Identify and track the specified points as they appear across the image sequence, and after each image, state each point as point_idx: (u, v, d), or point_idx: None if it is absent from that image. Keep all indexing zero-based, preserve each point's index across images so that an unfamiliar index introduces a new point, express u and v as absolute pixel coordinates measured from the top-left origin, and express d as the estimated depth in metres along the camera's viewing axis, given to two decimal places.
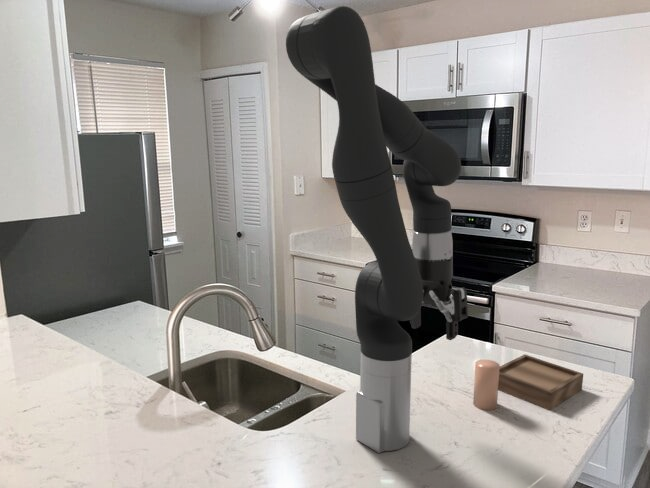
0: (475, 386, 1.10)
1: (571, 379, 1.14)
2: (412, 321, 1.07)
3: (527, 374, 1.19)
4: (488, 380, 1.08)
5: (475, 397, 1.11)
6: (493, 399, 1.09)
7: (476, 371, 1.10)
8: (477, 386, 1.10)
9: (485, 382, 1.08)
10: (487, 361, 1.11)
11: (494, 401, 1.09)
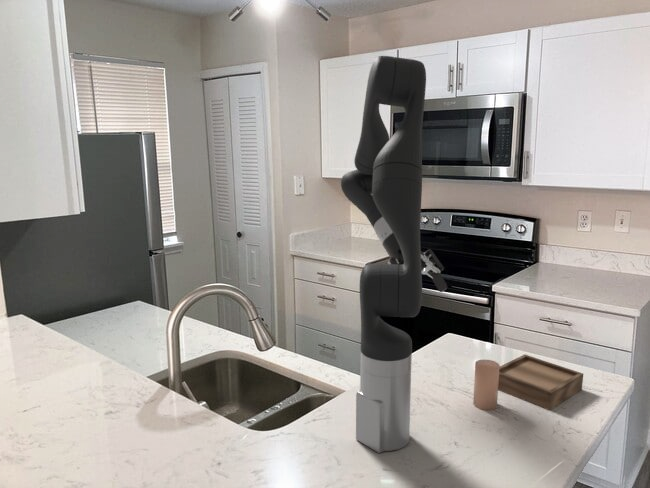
0: (475, 386, 1.10)
1: (571, 379, 1.14)
2: None
3: (527, 374, 1.19)
4: (488, 380, 1.08)
5: (475, 397, 1.11)
6: (493, 399, 1.09)
7: (476, 371, 1.10)
8: (477, 386, 1.10)
9: (485, 382, 1.08)
10: (487, 361, 1.11)
11: (494, 401, 1.09)
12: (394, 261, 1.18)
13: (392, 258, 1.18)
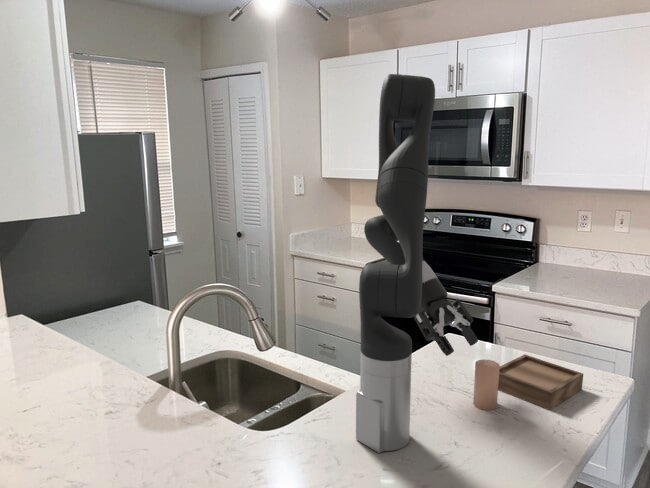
0: (475, 386, 1.10)
1: (571, 379, 1.14)
2: (449, 344, 1.12)
3: (527, 374, 1.19)
4: (488, 380, 1.08)
5: (475, 397, 1.11)
6: (493, 399, 1.09)
7: (476, 371, 1.10)
8: (477, 386, 1.10)
9: (485, 382, 1.08)
10: (487, 361, 1.11)
11: (494, 401, 1.09)
12: (424, 315, 1.13)
13: (421, 312, 1.13)
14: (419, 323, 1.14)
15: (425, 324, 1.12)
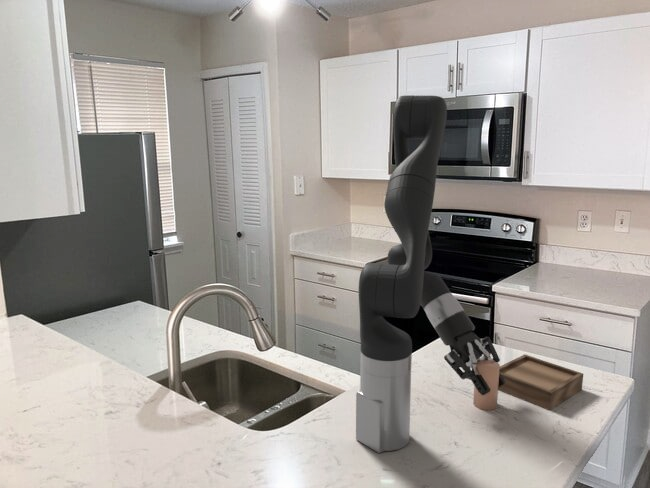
0: None
1: (571, 379, 1.14)
2: (485, 384, 1.08)
3: (527, 374, 1.19)
4: (488, 380, 1.08)
5: (475, 397, 1.11)
6: (493, 399, 1.09)
7: None
8: None
9: None
10: (487, 361, 1.11)
11: (494, 401, 1.09)
12: (455, 355, 1.08)
13: (452, 352, 1.09)
14: (451, 363, 1.09)
15: (459, 364, 1.08)
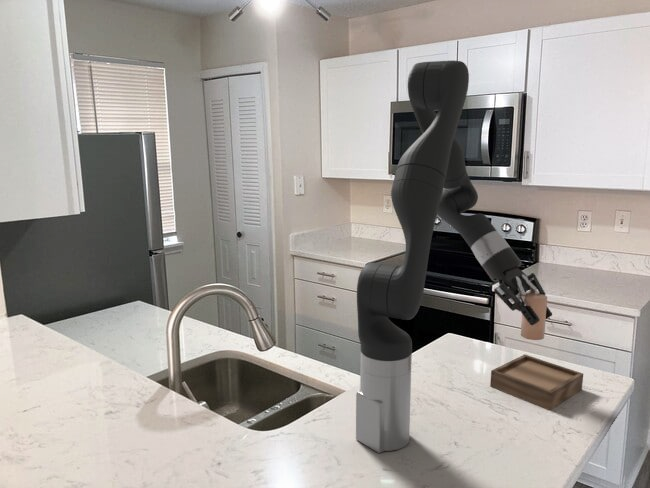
0: (523, 318, 1.15)
1: (571, 379, 1.14)
2: (535, 314, 1.12)
3: (527, 374, 1.19)
4: (537, 310, 1.13)
5: (523, 328, 1.15)
6: (541, 329, 1.14)
7: None
8: None
9: None
10: (534, 294, 1.16)
11: (542, 331, 1.14)
12: (505, 287, 1.13)
13: (502, 284, 1.13)
14: (501, 295, 1.14)
15: (510, 295, 1.12)
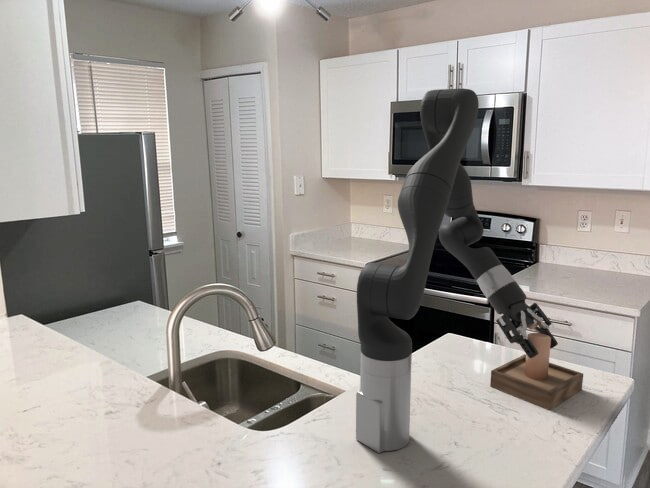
0: (527, 357, 1.17)
1: (571, 379, 1.14)
2: (533, 347, 1.13)
3: None
4: (541, 351, 1.15)
5: (527, 368, 1.17)
6: (545, 369, 1.16)
7: None
8: None
9: None
10: (538, 334, 1.18)
11: (546, 371, 1.16)
12: (507, 318, 1.15)
13: (504, 315, 1.15)
14: (502, 326, 1.16)
15: (510, 327, 1.14)
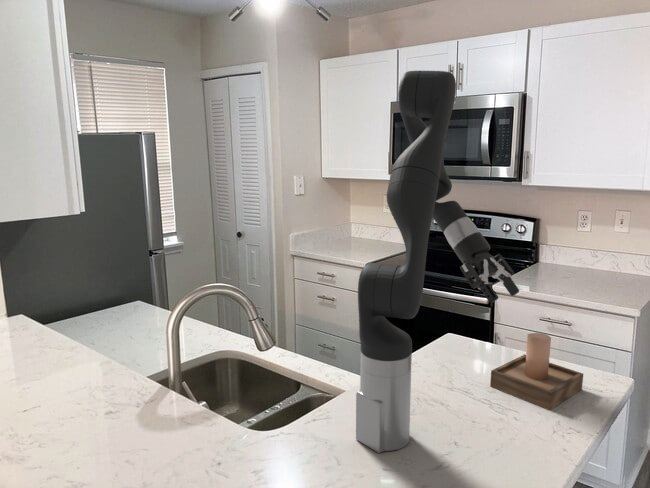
0: (527, 357, 1.17)
1: (571, 379, 1.14)
2: (494, 292, 1.19)
3: None
4: (541, 351, 1.15)
5: (527, 368, 1.17)
6: (545, 369, 1.16)
7: (529, 343, 1.16)
8: (529, 357, 1.16)
9: (537, 353, 1.15)
10: (538, 334, 1.18)
11: (546, 371, 1.16)
12: (469, 265, 1.20)
13: (467, 262, 1.21)
14: (465, 272, 1.21)
15: (472, 272, 1.19)
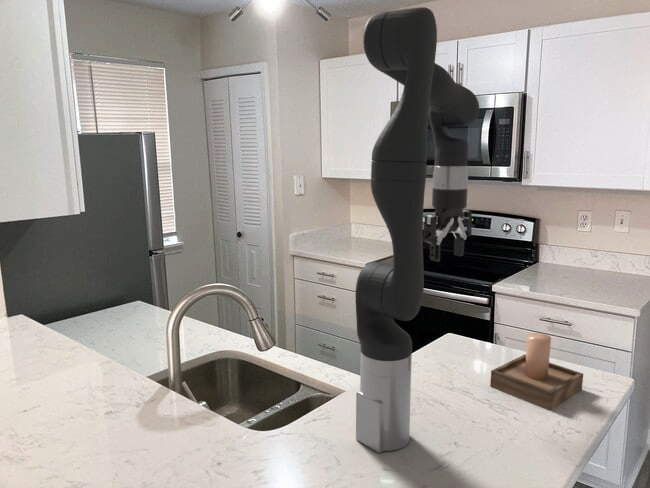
0: (527, 357, 1.17)
1: (571, 379, 1.14)
2: (439, 254, 1.17)
3: None
4: (541, 351, 1.15)
5: (527, 368, 1.17)
6: (545, 369, 1.16)
7: (529, 343, 1.16)
8: (529, 357, 1.16)
9: (537, 353, 1.15)
10: (538, 334, 1.18)
11: (546, 371, 1.16)
12: (434, 221, 1.14)
13: (434, 217, 1.14)
14: (426, 224, 1.15)
15: (431, 229, 1.14)
